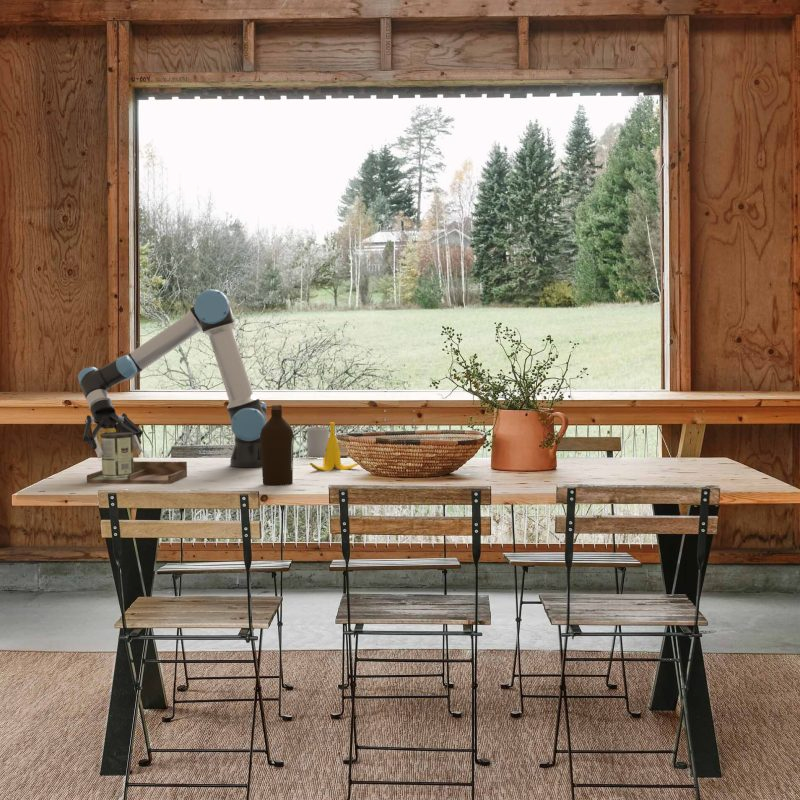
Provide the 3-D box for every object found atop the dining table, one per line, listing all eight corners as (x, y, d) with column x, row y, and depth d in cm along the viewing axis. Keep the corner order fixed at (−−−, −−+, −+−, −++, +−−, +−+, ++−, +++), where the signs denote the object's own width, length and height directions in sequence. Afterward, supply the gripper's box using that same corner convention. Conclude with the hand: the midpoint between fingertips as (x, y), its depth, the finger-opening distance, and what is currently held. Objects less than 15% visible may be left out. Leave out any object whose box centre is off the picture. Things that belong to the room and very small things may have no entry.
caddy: (187, 476, 330) (186, 461, 330) (171, 483, 314) (171, 467, 314) (106, 475, 333) (106, 461, 332) (87, 482, 317) (86, 467, 316)
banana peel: (308, 472, 338) (308, 424, 337) (324, 465, 357) (323, 419, 356) (355, 473, 335) (354, 424, 334) (368, 466, 353) (368, 420, 352)
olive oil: (264, 487, 305) (263, 406, 303) (257, 482, 315) (256, 404, 313) (298, 485, 308) (297, 405, 307) (290, 480, 318) (288, 403, 317)
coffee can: (114, 473, 330) (112, 431, 330) (140, 474, 327) (139, 432, 326) (95, 477, 321) (93, 434, 320) (121, 478, 317) (120, 435, 316)
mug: (323, 457, 379) (323, 429, 378) (303, 457, 382) (303, 428, 381) (336, 454, 390) (335, 426, 390) (316, 453, 393) (316, 426, 392)
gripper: (132, 411, 342) (152, 458, 332) (61, 415, 327) (80, 464, 316) (138, 396, 338) (159, 443, 327) (67, 400, 322) (86, 449, 311)
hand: (120, 454), depth 322 cm, fingers open, 13 cm apart
